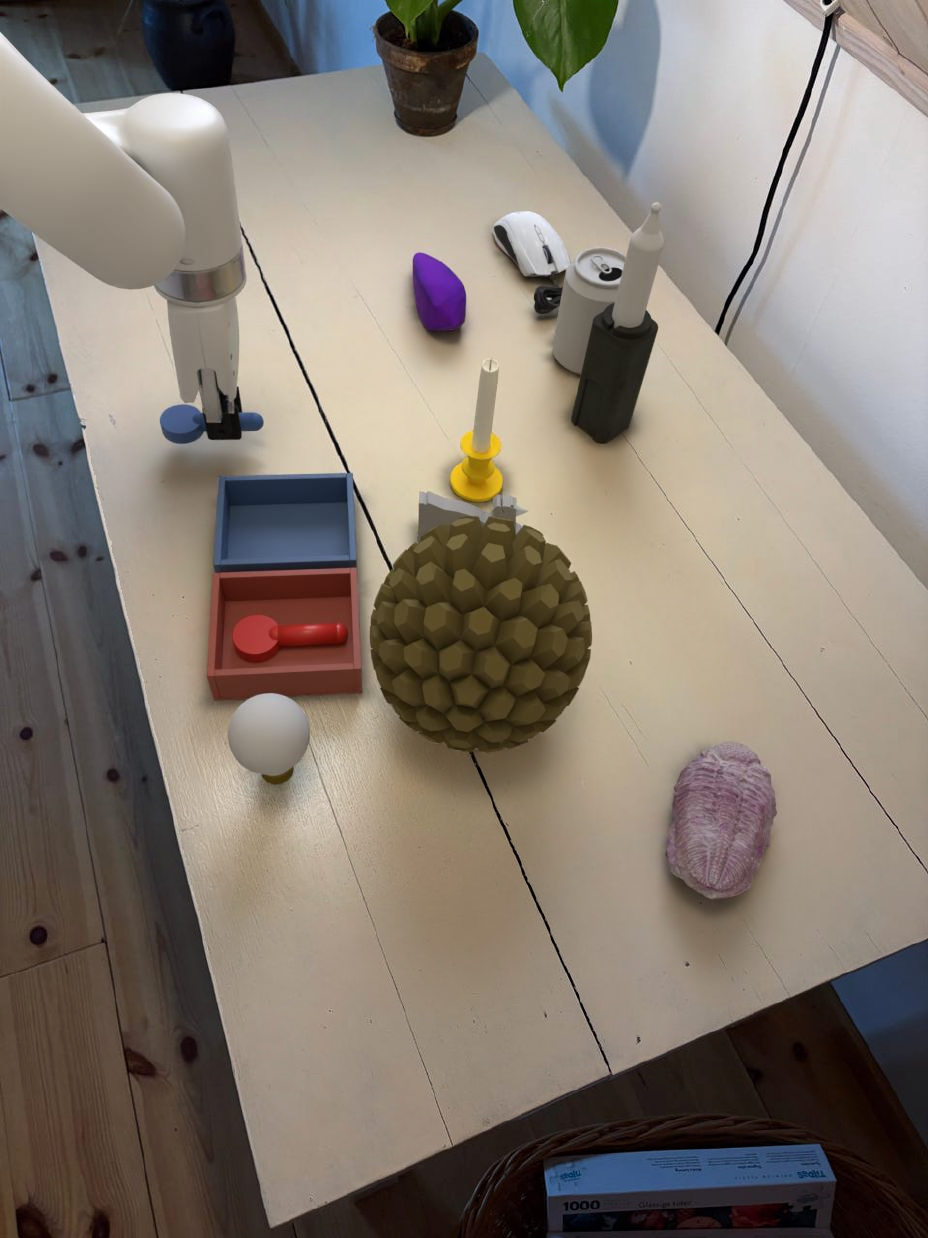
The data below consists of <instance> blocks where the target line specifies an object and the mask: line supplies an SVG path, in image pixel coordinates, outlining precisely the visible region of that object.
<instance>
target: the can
mask: <svg viewBox="0 0 928 1238" xmlns="http://www.w3.org/2000/svg"><path fill="white" fill-rule="evenodd" d="M626 255H627V254H625V253H624V252H622V251H620V250H618V249H615V248H613V247H606V246H594V247H593V246H591V247H589V248H586V249H583V250H581V251H580V252H578V253H577V255H576V256H575V257H574V260H573V261H572V262H571V264H570V265H569V267H568V268H567V269H566V270H565V275H564V279H563V285H562V286H563V290H562V296H561V301H560V307H558V312H557V319H556V324H555V328H554V335H553V340H552V347H551V348H552V350H551V351H552V353H553V356H554V358H555V360H557V362H558V363H559V364H560V365H561V366H562V367H564V368H565V369H566V370H568V371H569V372H571V373H573V374H574V373H575V374H576V375H579V376H581V372H582V367H583V363H584V358H585V354H586V349H587V345H588V340H589V336H590V331H591V327H592V322H593V319H594V317H595V316H596V315H598V314H600V313H602V312H603V311H604V310H605V308H606V307H607V306H609V305H610V304H612V303H615V300H616V296H617V292H618V288H619V284H620V280H621V276H622V271H623V267H624V263H625V259H626Z"/></svg>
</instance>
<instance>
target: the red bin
mask: <svg viewBox="0 0 928 1238" xmlns="http://www.w3.org/2000/svg"><path fill="white" fill-rule="evenodd" d="M358 580H359V579H358V567H357V568H334V569H306V570H278V571H250V572H223V573H215V572H213V573H212V578H211V581H212V582H211V597H210V612H209V613H210V615H209V631H208V646H207V663H206V678H207V682H208V685H209V688H210V692H211V695H212V698H213V701H230V700H231V701H233V700H248V699H250V698H252V697H254V696H257V695H260V694H266V693H274V694H280V695H283V696H286V697H288V698H291V697H309V696H310V697H311V696H328V695H348V694H350V695H351V694H363V677H362V675H363V674H362V673H363V671H362V653H361V652H362V650H361V631H360V630H361V628H360V626H361V625H360V608H359V607H360V606H359V605H360V604H359V584H358V582H359V581H358ZM251 615H265V616H268V617H270V618H272V619H273V620H274V621H275V622H276V623H277V624H278V626H279V625H301V624H323V623H341V624H343V625H345V626H346V628H347V630H348V637H347V639H346V640H345V641H344V642H343V643H340V644H324V645H303V646H282V647H280V649H279V651H278V652H277V654H276V655H275V656H273V657H272V658H270V659H269V660H266V661H263V662H249V661H246V660H244V659H242V658H241V657H240V656H239V655H238V654H237V653H236V651H235V648H234V644H233V640H232V632H233V629H234V627H235V626H236V624H237V623H238V622H239V621H240V620H242V619H243V618H245V617H248V616H251Z"/></svg>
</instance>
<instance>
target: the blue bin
mask: <svg viewBox="0 0 928 1238" xmlns="http://www.w3.org/2000/svg"><path fill="white" fill-rule="evenodd" d="M216 497H217V498H216V513H215V527H214V528H215V531H214V547H213V548H214V549H213V561H212V563H213V564H212V565H213V569H214V573H223V572H250V571H278V570H306V569H334V568H357V569H358V561H357V538H356V537H357V535H356V515H355V514H356V513H355V512H356V511H355V492H354V474H353V472H329V473H327V472H326V473H325V472H324V473H290V474H289V473H288V474H287V473H286V474H251V475H250V474H245V475H243V474H242V475H219V476H218V479H217V495H216Z"/></svg>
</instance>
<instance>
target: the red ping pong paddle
mask: <svg viewBox="0 0 928 1238" xmlns="http://www.w3.org/2000/svg"><path fill="white" fill-rule="evenodd" d="M347 637H348V630H347V628H346V626H345V625H343V624H341V623H323V624H301V625H279V626H278V624H277V623H276V622H275V621H274V620H273V619H272V618H270V617H268V616H265V615H251V616H248V617H245V618H243V619H242V620H240V621H239V622H238V623H237V624H236V626H235V627H234V629H233V632H232V640H233V644H234V648H235V651H236V653H237V654H238V655H239V656H240V657H241V658H242V659H244V660H246V661H249V662H263V661H266V660H269V659H270V658H272V657H273V656H275V655H276V654H277V652H278V651H279V649H280V647H282V646H303V645H324V644H340V643H343V642H344V641H345V640H346V639H347Z"/></svg>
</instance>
